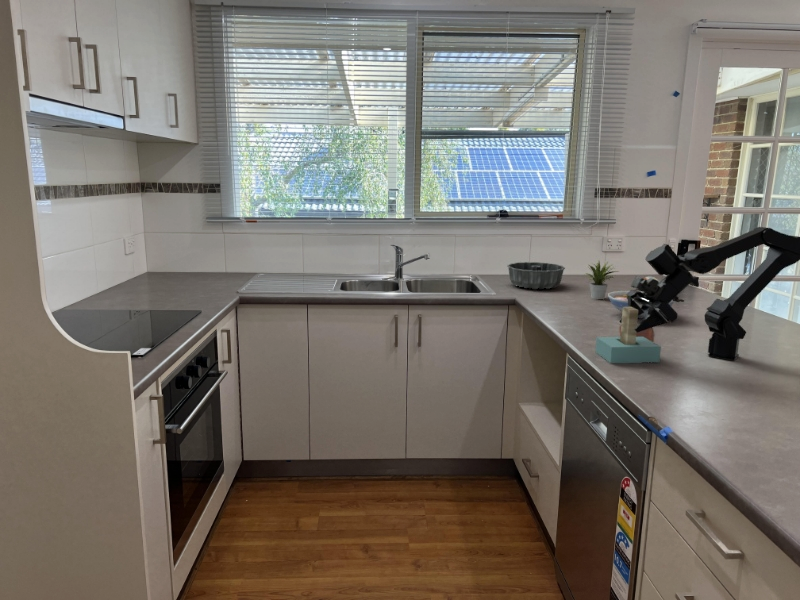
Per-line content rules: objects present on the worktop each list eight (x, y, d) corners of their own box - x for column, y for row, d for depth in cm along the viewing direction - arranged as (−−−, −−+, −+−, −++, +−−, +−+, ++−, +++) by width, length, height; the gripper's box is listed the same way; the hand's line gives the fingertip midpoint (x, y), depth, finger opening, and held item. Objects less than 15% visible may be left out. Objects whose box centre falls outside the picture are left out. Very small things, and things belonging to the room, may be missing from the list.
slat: (618, 355, 158) (622, 306, 155) (627, 355, 159) (631, 306, 156) (625, 359, 154) (629, 310, 152) (633, 359, 155) (638, 309, 152)
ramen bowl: (592, 310, 215) (594, 289, 214) (645, 307, 220) (647, 287, 218) (631, 325, 191) (633, 302, 190) (690, 322, 196) (692, 299, 194)
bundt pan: (563, 293, 249) (565, 271, 247) (503, 290, 256) (504, 268, 254) (563, 283, 274) (565, 263, 272) (509, 280, 281) (510, 261, 279)
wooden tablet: (619, 326, 194) (620, 321, 193) (651, 329, 190) (651, 324, 190) (618, 346, 169) (618, 340, 169) (654, 349, 166) (654, 344, 165)
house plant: (603, 304, 226) (607, 263, 223) (573, 298, 236) (576, 260, 233) (621, 299, 236) (624, 260, 232) (591, 294, 246) (594, 257, 242)
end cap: (595, 352, 161) (596, 337, 160) (641, 351, 162) (642, 336, 161) (610, 363, 151) (611, 347, 150) (659, 362, 152) (660, 346, 151)
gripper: (635, 261, 161) (595, 300, 162) (670, 271, 142) (624, 314, 144) (660, 288, 163) (620, 325, 164) (697, 301, 144) (651, 343, 146)
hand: (627, 326), depth 155 cm, fingers open, 9 cm apart
